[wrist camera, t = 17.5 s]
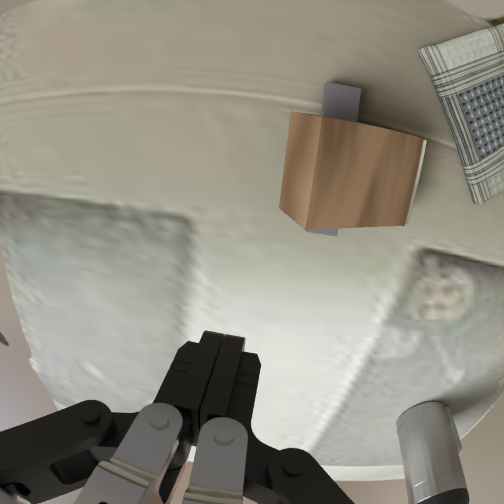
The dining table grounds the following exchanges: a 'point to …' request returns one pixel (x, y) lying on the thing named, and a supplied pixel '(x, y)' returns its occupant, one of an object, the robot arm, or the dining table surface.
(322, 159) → the walnut slab
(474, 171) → the dish towel
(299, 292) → the dining table surface
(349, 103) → the rail
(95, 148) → the dining table surface
